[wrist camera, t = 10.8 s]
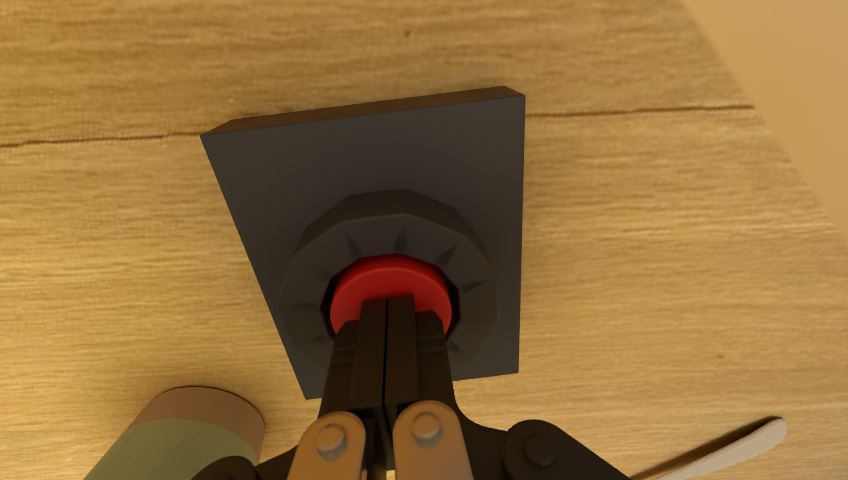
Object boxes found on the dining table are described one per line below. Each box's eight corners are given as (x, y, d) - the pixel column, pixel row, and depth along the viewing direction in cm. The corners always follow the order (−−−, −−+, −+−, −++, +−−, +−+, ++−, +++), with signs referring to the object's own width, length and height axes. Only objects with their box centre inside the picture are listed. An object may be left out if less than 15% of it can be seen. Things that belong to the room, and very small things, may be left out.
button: (326, 245, 12) (316, 276, 10) (440, 231, 12) (447, 260, 10) (350, 330, 13) (344, 369, 12) (449, 318, 13) (455, 355, 12)
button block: (230, 119, 12) (161, 153, 8) (505, 85, 12) (550, 104, 8) (315, 360, 17) (294, 442, 14) (505, 336, 17) (533, 412, 14)
